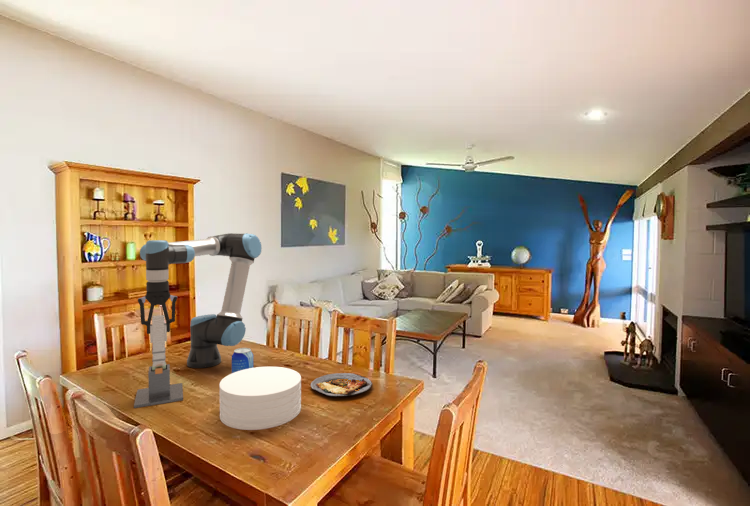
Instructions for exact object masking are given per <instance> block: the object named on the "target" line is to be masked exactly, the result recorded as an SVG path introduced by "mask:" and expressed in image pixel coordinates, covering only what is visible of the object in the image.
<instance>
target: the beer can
mask: <svg viewBox="0 0 750 506" xmlns="http://www.w3.org/2000/svg"><path fill="white" fill-rule="evenodd" d="M249 368H254V353H253V351H252V349H251V348H249V347H239V348H236V349H234V350H233V353H232V355H231V374H232V373H234V372H237V371H240V370H244V369H249Z"/></svg>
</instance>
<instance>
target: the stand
mask: <svg viewBox="0 0 750 506" xmlns="http://www.w3.org/2000/svg"><path fill="white" fill-rule="evenodd" d="M170 367H171V365H170V363H166V369H165V370H163V368H157V369H155V371H153V370H152V366H148V387H146V388H144V387H143V388H139V389H137V391H136V394H135V399H134V403H133V409H137V408H143V407H149V406H155V405H163V404H168V403H173V402H175V403H176V402H180V401H184V391H183V390H184V387H183V383H182V382H180V383H172V384H171V375H170V373H171V372H170V370H171V369H170Z"/></svg>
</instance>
